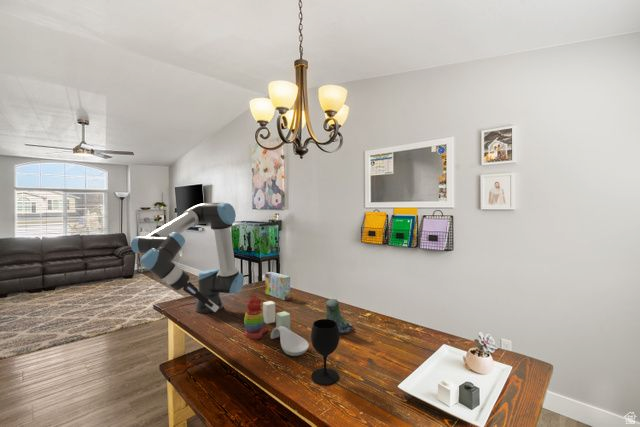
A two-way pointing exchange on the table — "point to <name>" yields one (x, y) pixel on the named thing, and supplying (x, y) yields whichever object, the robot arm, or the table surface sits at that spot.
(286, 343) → the spoon rest
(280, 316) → the sage-green block
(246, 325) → the stacking bear
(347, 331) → the tree stump
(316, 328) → the wine glass
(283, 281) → the snack box
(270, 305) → the off-white block
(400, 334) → the table surface
